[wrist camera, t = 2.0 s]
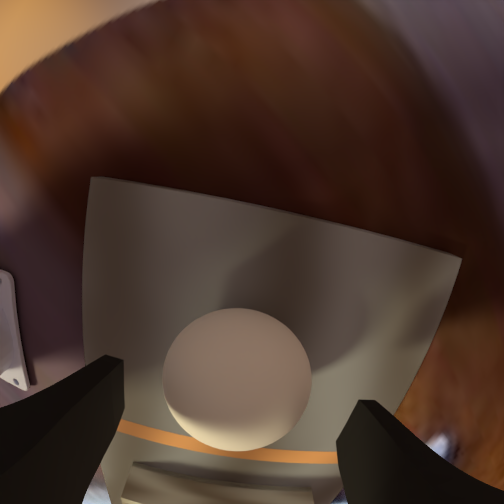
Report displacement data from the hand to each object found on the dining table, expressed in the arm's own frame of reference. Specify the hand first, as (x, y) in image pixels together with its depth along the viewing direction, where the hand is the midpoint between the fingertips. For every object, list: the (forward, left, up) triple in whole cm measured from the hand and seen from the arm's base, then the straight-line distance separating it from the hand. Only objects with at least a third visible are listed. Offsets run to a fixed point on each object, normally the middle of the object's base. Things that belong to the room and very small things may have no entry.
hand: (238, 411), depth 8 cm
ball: (0, 0, -2) cm, 2 cm away
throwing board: (+1, -9, -5) cm, 10 cm away
